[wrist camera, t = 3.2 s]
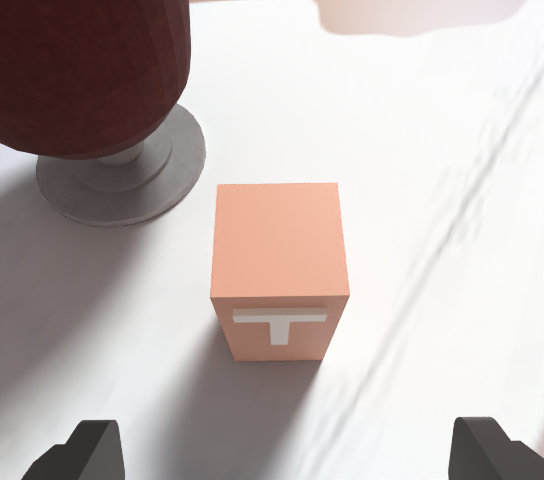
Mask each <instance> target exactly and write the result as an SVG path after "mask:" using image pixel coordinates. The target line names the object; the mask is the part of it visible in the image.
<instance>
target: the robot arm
mask: <svg viewBox="0 0 544 480" xmlns="http://www.w3.org/2000/svg"><path fill="white" fill-rule="evenodd" d="M448 476H449V480H544V458H542V457H541V456H540V455H538V454H537V453H536V452H534V451H533V450H532V449H530V448H529V447H528V446H526V445H525V444H524V443H522V442H521V441H511V440H510V439H509V437H508V436H507V435H506V433H505V432H504V431H503V429H502V428H501V427H500V425H499V424H498V423H497V422H496V420H495V419H493V418H492V417H458V418H456V420H455V422H454V428H453V436H452V444H451V452H450V460H449V469H448ZM21 480H125V469H124V462H123V455H122V448H121V441H120V433H119V427H118V423H117V421H116V420H83V421H81V422H80V423H79V424H78V425H77V427H76V428H75V430H74V431H73V433H72V434H71V436H70V438H69V439H68V441H67V442H66V444H55V445H54V446H53V447H51V448H50V449H49V450H48V451H47V452H45V453H44V454H43V455H42V456H41V457H39V458H38V459H37V460H36V461H35V462H33V464H32V465H31V466H30V468H29V469H28V471H27V472H26V474H25V475H24V476H23V478H22V479H21Z"/></svg>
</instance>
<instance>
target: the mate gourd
mask: <svg viewBox="0 0 544 480" xmlns="http://www.w3.org/2000/svg"><path fill="white" fill-rule="evenodd" d="M190 58H191V37H190V14H189V0H0V143H1V144H3V145H6V146H8V147H10V148H12V149H15V150H17V151H22V152H27V153H31V154H36V155H38V160H37V165H36V172H37V181H38V183H39V186H40V189H41V191H42V193H43V194H44V196H45V197H46V198H47V200H48V201H49V202H50V203H51V205H52V206H53V207H54V208H55V209H57V210H58V211H59V212H60V213H62V214H63V215H64V216H66V217H68V218H70V219H72V220H74V221H76V222H79V223H83V224H87V225H91V226H100V227H116V226H125V225H131V224H135V223H138V222H142V221H146V220H148V219H150V218H153V217H155V216H157V215H159V214H161V213H163V212H165V211H166V210H168V209H169V208H171V207H172V206H174V205H175V204H177V203H178V202H179V201H180V200H181V199H182V198H183V197H184V196H185V195H187V194H188V193H189V192H190V190H191V189H192V187H193V186H194V185H195V183H196V182H197V181H198V179H199V176H200V174H201V172H202V170H203V167H204V162H205V157H206V149H205V140H204V136H203V133H202V130H201V127H200V125H199V124H198V122H197V121H196V119H195V118H194V116H193V115H192V114H191V113H190V112H188V111H187V110H186V109H185V108H184V107H182V106H180V105H179V104H177V103H176V102H177V101H178V99H179V98H180V96H181V94H182V92H183V90H184V88H185V86H186V84H187V80H188V75H189V71H190Z"/></svg>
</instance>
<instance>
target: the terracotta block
mask: <svg viewBox="0 0 544 480" xmlns="http://www.w3.org/2000/svg"><path fill="white" fill-rule="evenodd" d="M349 296H350V292H349V283H348V274H347V265H346V256H345V247H344V238H343V229H342V220H341V211H340V202H339V194H338V185H337V183H287V184H224V185H217V199H216V214H215V229H214V244H213V259H212V274H211V289H210V299H211V301H212V304H213V306H214V309H215V312H216V314H217V317H218V319H219V322H220V324H221V327H222V329H223V332H224V335H225V337H226V340H227V342H228V345H229V347H230V350H231V353H232V355H233V358H234V360H235V361H303V360H323V358H324V356H325V353H326V351H327V348H328V346H329V344H330V341H331V339H332V337H333V334H334V332H335V329H336V327H337V325H338V322H339V320H340V318H341V315H342V313H343V310H344V308H345V306H346V303H347V301H348V298H349Z"/></svg>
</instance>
